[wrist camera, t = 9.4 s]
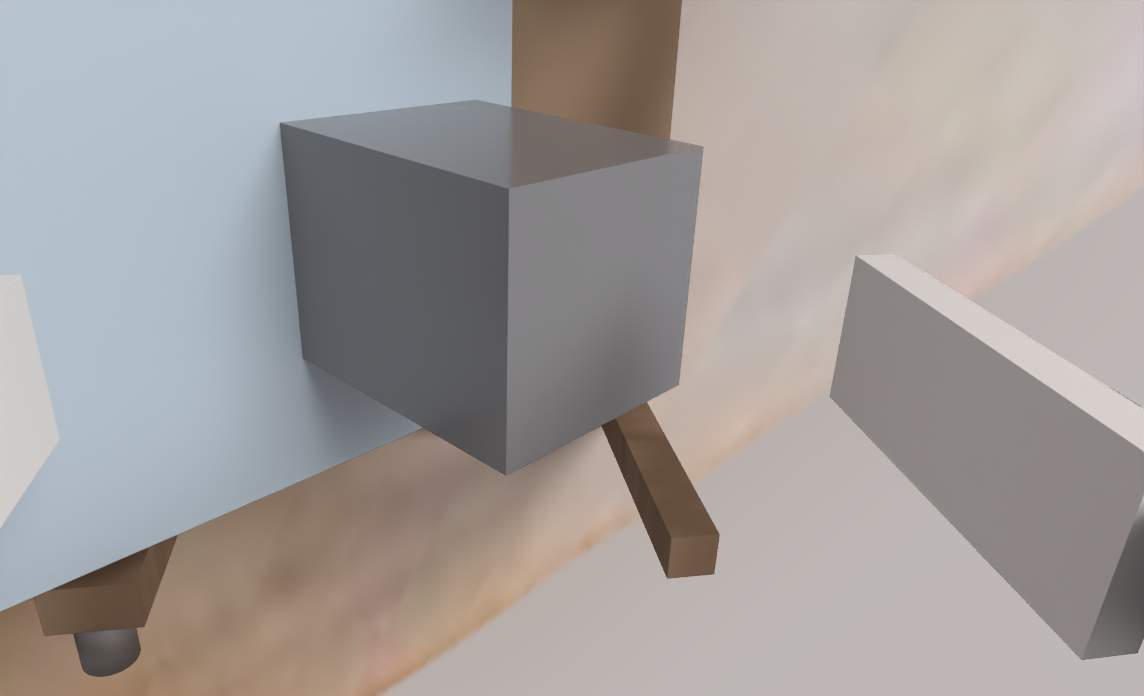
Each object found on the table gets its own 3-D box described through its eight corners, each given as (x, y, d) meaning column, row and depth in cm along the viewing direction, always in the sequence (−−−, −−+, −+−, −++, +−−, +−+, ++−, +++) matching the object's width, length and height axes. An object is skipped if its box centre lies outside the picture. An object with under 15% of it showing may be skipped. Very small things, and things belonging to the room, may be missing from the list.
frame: (32, 467, 27) (-126, 699, 18) (-153, -254, 19) (-564, -400, 11) (635, 431, 30) (725, 613, 22) (686, -190, 22) (853, -263, 14)
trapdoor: (-187, 559, 18) (-137, 670, 16) (-470, -146, 13) (-466, -158, 10) (417, 346, 29) (507, 390, 27) (401, -85, 24) (513, -83, 21)
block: (302, 358, 21) (506, 475, 16) (279, 122, 18) (509, 189, 14) (476, 301, 24) (678, 385, 20) (475, 99, 22) (703, 146, 18)
